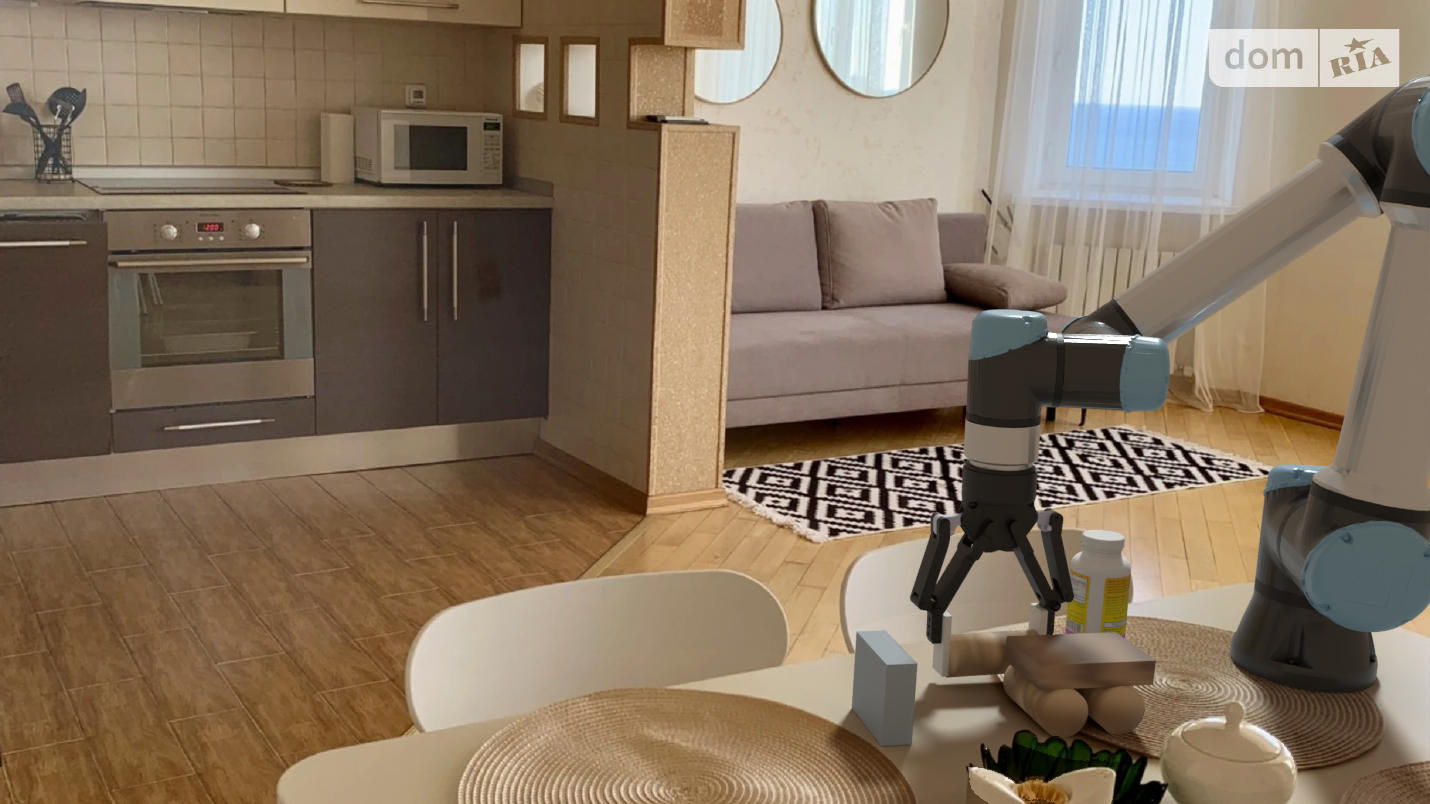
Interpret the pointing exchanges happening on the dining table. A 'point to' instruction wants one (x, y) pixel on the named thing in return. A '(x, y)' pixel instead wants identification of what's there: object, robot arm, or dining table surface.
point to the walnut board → (1079, 661)
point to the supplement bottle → (1099, 585)
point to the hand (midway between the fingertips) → (988, 668)
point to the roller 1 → (980, 653)
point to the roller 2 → (1047, 704)
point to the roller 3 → (1114, 707)
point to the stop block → (884, 687)
